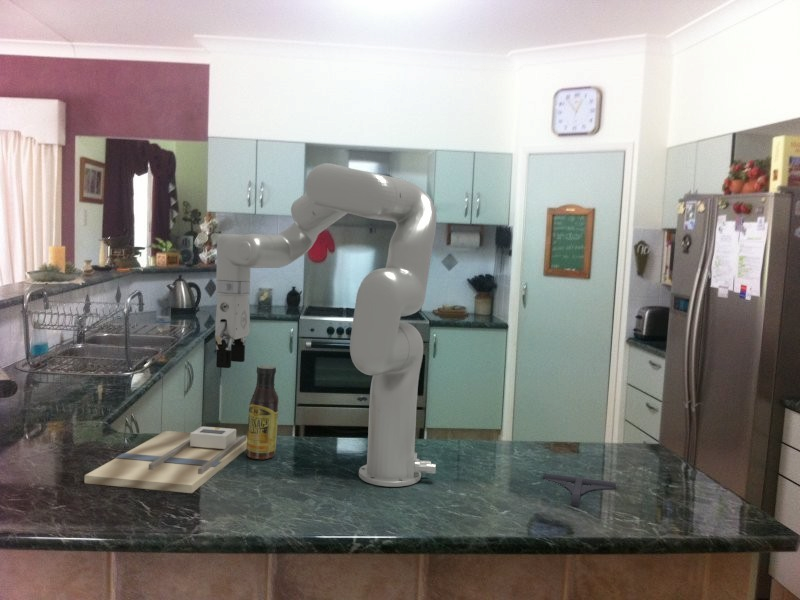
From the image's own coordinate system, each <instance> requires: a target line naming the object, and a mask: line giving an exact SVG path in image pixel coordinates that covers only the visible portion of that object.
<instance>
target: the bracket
mask: <svg viewBox="0 0 800 600" xmlns="http://www.w3.org/2000/svg"><path fill="white" fill-rule="evenodd" d="M542 479H543V480H545V479H546V480H545V481H547V480H548V481H547V482H550V481H553V482H555V483H554V484H556V483H558V484H557V485H559V484H560V485H559V486H561V485H562V486H561V487H563V486H564V488H565V487H566V488H565V489H567V490H568V491H569V492H570V493H571V507H576V508H579V506H580V499H581V496H583V495H585V494H586V493H589V492H593V491H594V490H595V491H608V490H610V491H611V490H612V491H613V490H616V489H617V488H616V487H617V482H613V481H605V480H599V479H591V478H584V477H583V478H582V477H576V476H569V475H560V474H556V473H555V474H554V473H548V472H547V473H546V472H544V473H543V476H542ZM553 482H552V483H553ZM567 482H571V483H567ZM574 483H575V484H574ZM588 485H590V486H588ZM595 491H594V492H595Z"/></svg>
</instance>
